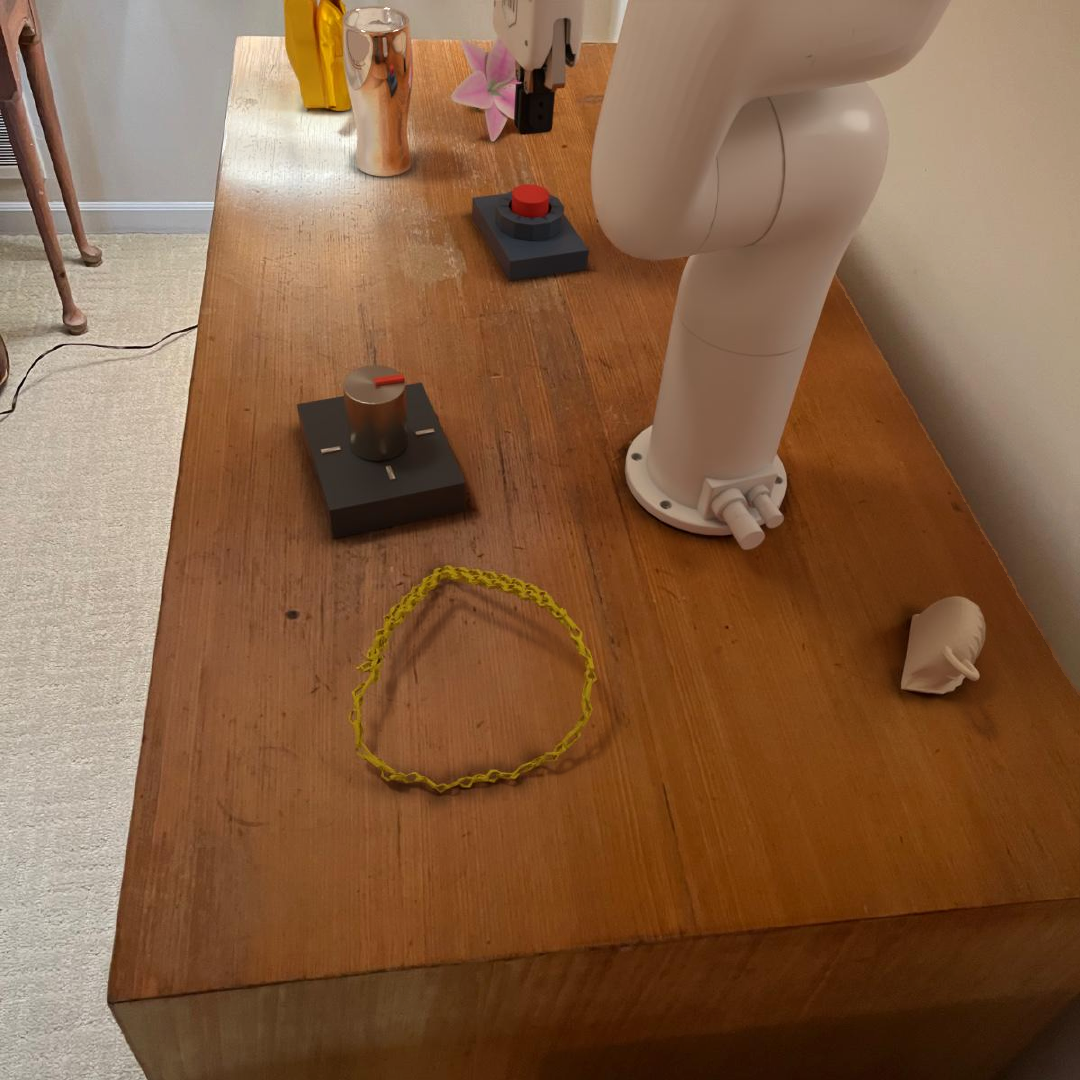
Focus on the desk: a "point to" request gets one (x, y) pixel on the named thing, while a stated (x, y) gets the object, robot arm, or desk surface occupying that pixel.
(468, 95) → the lily
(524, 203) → the button
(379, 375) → the dial
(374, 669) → the decorative chain
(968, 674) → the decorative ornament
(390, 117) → the beer glass
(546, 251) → the button block
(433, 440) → the panel
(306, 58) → the yellow foil bag
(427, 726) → the desk surface
